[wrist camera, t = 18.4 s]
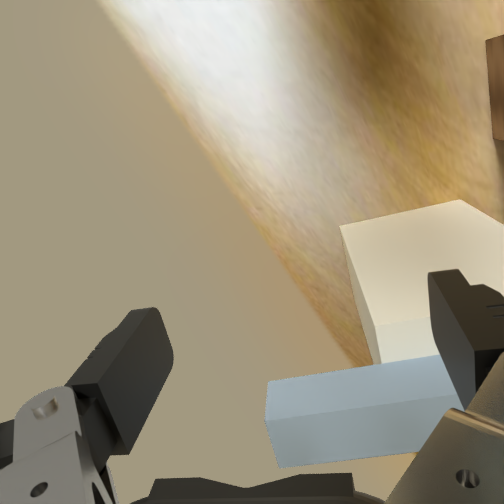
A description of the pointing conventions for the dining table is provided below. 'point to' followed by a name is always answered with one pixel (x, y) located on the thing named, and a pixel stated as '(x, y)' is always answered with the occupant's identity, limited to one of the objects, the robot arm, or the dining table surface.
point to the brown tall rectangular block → (496, 83)
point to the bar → (358, 411)
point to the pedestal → (416, 270)
